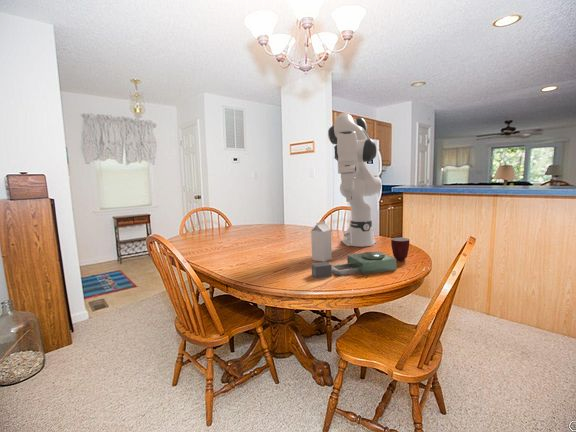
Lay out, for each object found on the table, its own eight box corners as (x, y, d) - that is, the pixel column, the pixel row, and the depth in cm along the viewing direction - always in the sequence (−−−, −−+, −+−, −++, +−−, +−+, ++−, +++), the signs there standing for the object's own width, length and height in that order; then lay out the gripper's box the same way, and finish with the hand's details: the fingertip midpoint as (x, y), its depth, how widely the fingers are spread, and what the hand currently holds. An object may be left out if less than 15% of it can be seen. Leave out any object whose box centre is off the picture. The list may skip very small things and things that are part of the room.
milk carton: (331, 258, 151) (330, 221, 149) (324, 262, 146) (323, 223, 143) (319, 256, 156) (318, 220, 153) (312, 260, 150) (310, 222, 148)
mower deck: (327, 268, 137) (327, 255, 136) (378, 261, 143) (378, 249, 143) (340, 278, 123) (340, 264, 123) (396, 269, 130) (396, 256, 129)
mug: (411, 264, 137) (411, 242, 136) (392, 263, 139) (392, 242, 138) (407, 257, 147) (408, 237, 146) (390, 257, 149) (390, 237, 148)
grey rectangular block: (311, 275, 129) (311, 263, 128) (327, 272, 131) (326, 261, 130) (315, 278, 124) (315, 267, 124) (331, 276, 126) (331, 264, 125)
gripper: (342, 170, 141) (344, 199, 142) (338, 168, 121) (339, 203, 123) (356, 169, 139) (357, 199, 141) (354, 167, 120) (355, 202, 121)
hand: (349, 201), depth 131 cm, fingers open, 8 cm apart
